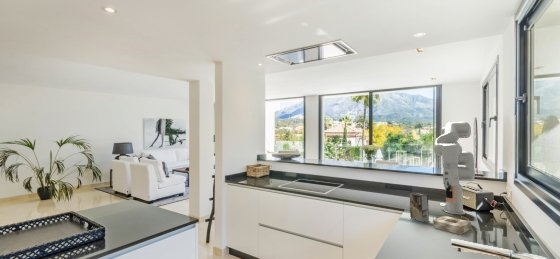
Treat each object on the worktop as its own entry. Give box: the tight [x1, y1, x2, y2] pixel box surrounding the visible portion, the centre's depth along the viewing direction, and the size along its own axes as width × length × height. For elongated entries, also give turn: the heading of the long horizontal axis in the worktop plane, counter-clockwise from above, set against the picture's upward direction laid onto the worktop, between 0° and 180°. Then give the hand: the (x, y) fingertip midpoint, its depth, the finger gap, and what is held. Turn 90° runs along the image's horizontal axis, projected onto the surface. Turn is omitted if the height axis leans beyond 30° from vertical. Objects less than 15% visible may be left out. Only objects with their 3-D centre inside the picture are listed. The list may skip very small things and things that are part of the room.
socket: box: [432, 215, 472, 235], centre depth 147 cm, size 14×14×4 cm
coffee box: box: [409, 192, 430, 223], centre depth 162 cm, size 9×6×16 cm
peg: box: [445, 184, 457, 203], centre depth 147 cm, size 4×4×11 cm
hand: (451, 196), depth 147 cm, fingers closed on peg, 4 cm apart
